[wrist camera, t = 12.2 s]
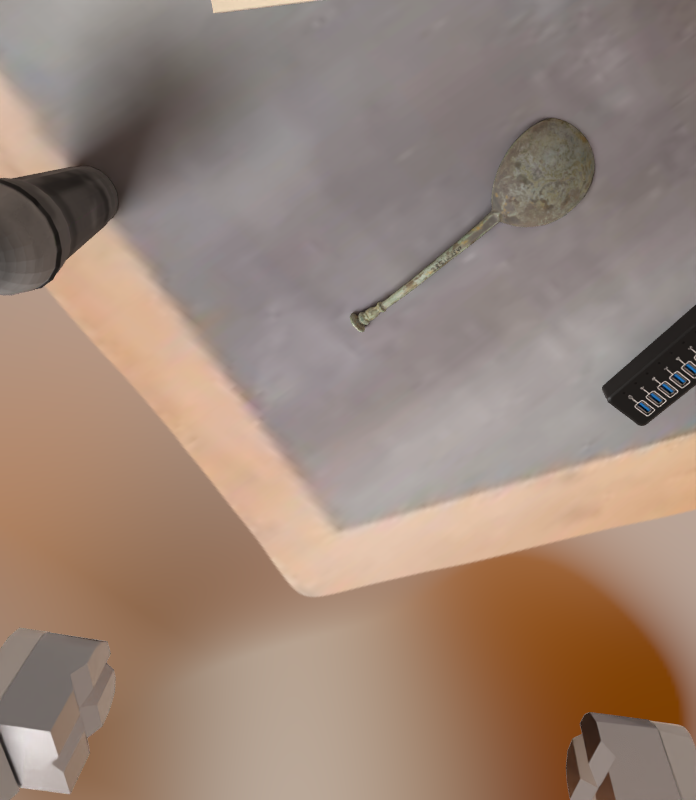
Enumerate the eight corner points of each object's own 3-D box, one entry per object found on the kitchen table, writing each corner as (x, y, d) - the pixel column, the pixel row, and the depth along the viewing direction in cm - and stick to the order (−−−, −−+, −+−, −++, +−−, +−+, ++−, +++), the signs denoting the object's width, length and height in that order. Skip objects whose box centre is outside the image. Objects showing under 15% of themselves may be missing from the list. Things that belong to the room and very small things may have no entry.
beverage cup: (28, 190, 49) (-185, 275, 32) (79, 125, 46) (-127, 181, 29) (100, 258, 51) (-62, 372, 34) (153, 201, 48) (3, 294, 31)
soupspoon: (609, 172, 45) (559, 97, 43) (622, 179, 42) (569, 98, 40) (380, 347, 53) (329, 290, 51) (377, 363, 50) (323, 304, 48)
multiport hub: (598, 386, 53) (605, 400, 51) (746, 256, 46) (761, 266, 44) (634, 413, 54) (642, 428, 52) (785, 290, 47) (801, 302, 45)
